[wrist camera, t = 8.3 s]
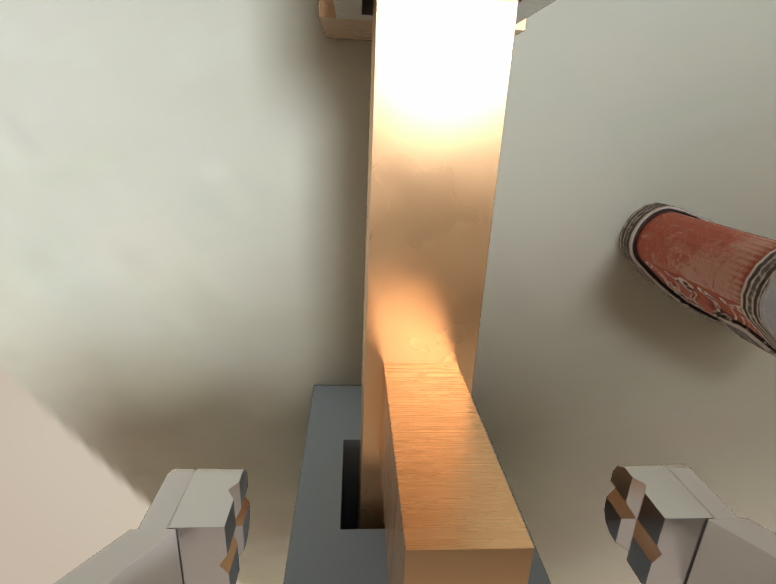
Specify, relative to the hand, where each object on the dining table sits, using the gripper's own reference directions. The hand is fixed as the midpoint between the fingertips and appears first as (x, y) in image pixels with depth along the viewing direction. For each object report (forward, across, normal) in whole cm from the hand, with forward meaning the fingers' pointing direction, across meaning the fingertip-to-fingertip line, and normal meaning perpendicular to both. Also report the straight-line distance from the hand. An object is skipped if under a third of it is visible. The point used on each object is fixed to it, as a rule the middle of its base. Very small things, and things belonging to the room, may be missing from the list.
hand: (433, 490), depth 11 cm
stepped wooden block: (+6, 0, -2) cm, 7 cm away
